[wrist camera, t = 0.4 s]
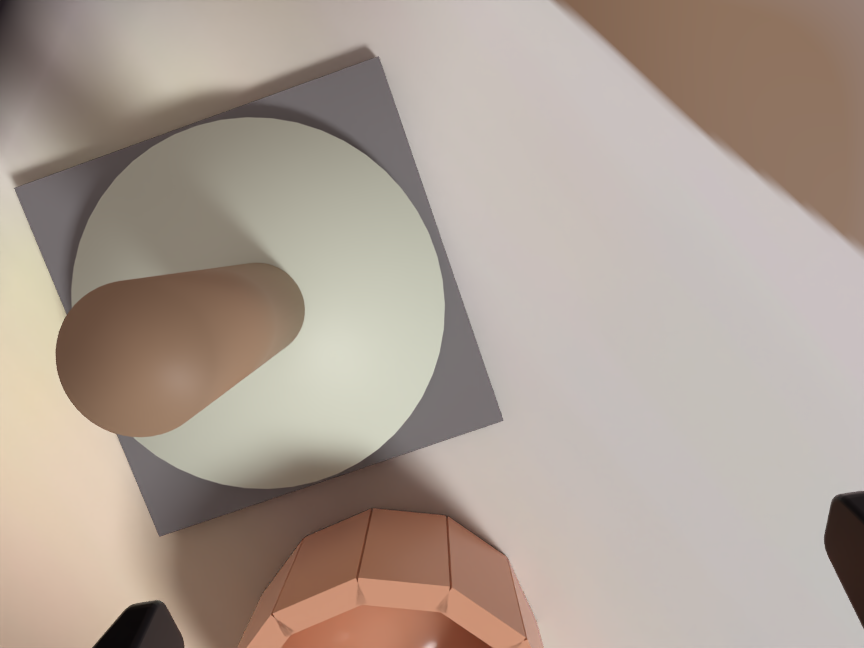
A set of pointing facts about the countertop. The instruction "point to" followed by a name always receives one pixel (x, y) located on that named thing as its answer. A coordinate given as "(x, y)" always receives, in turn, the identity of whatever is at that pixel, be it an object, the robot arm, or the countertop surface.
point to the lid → (253, 305)
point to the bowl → (393, 589)
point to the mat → (388, 147)
